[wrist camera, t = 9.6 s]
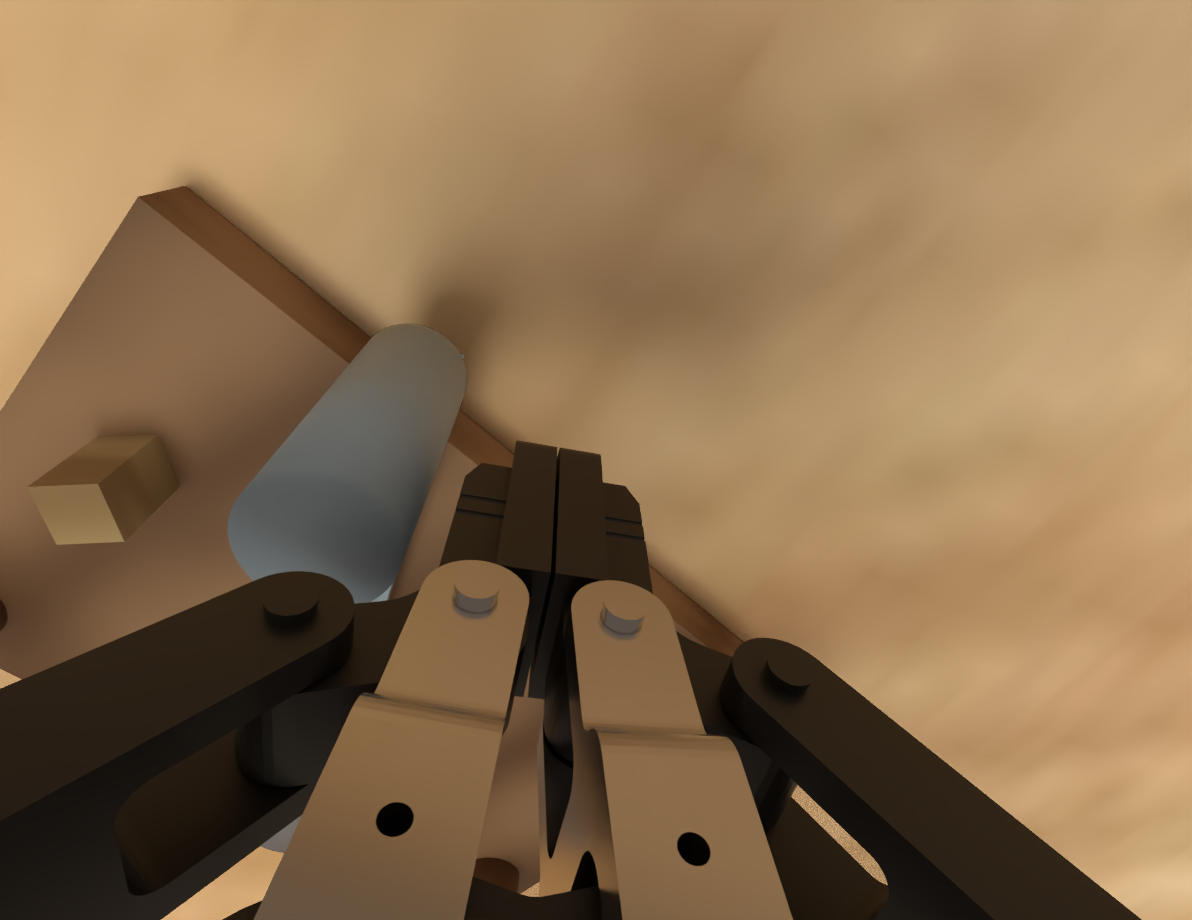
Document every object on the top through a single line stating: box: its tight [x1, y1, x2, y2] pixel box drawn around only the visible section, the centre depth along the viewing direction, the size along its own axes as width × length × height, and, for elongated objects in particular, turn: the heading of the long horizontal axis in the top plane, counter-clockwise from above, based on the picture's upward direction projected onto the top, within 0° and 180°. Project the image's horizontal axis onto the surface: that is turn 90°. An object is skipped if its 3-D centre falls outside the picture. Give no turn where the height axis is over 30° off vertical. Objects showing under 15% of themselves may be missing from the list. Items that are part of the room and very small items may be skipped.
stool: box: [0, 186, 744, 894], centre depth 19 cm, size 24×16×10 cm, turn 45°
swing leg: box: [227, 324, 467, 853], centre depth 16 cm, size 18×3×8 cm, turn 159°
